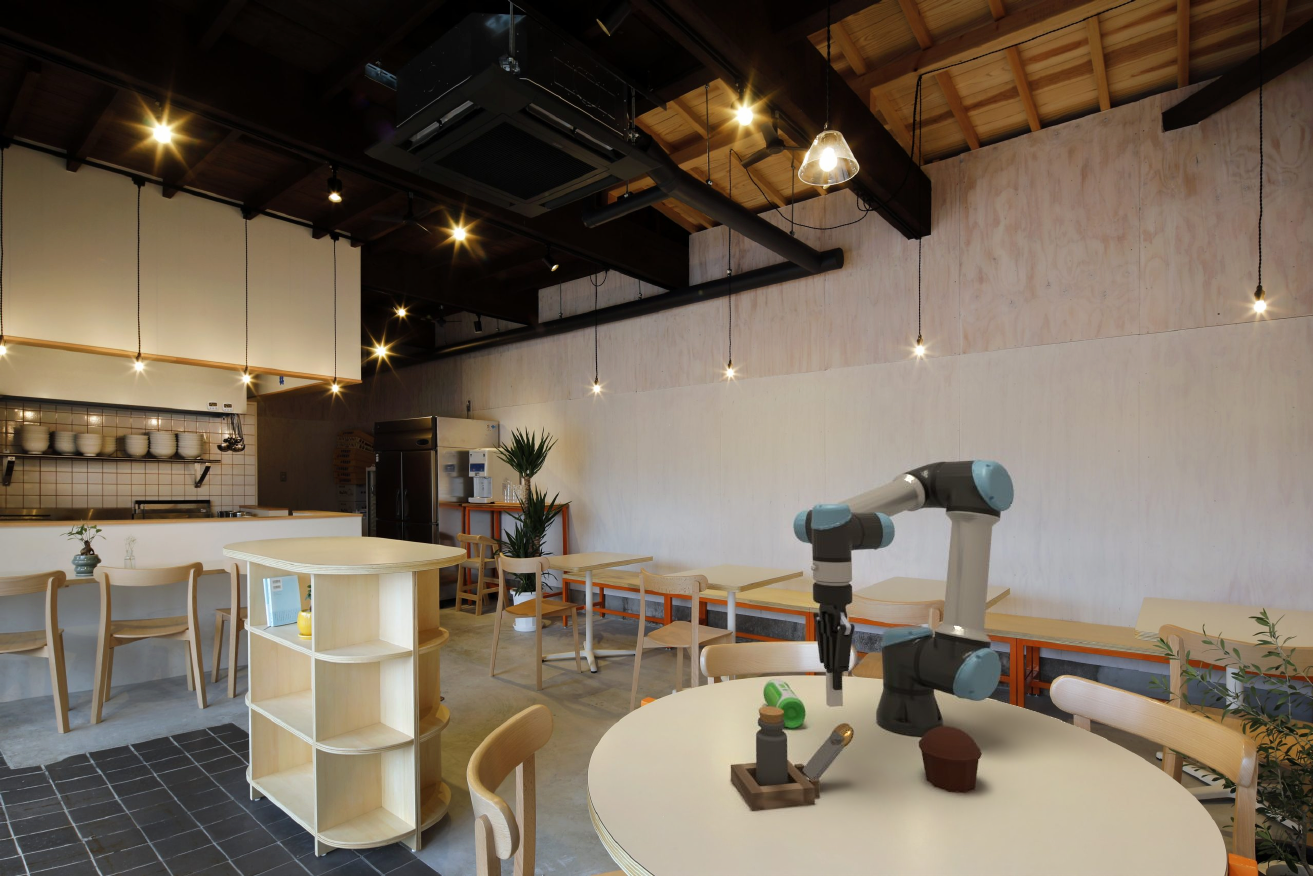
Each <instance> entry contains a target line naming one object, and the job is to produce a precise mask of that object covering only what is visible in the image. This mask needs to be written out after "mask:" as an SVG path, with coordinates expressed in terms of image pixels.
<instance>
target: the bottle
mask: <svg viewBox="0 0 1313 876" xmlns="http://www.w3.org/2000/svg"><path fill="white" fill-rule="evenodd" d="M758 713H759V714H758V715H759V717H758V719H757V725H758V726H759V727H760V729H759V730H757V731H756V733H755V755H756V756H755V759H756V760H755V761H756V762H755V763H756V783H757V784H758V786H759V787H760V786H771V785H781V784H788V760H789V759H788V736H787V734H786V732H785V731H783V729H784V728H786V726H785V720H784V719H783V714H784V711H783V710H782V709H780V708H777V707H770V706H769V705H768V706H763V707H762V706H761V707H760V708H759V709H758Z"/></svg>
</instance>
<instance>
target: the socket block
mask: <svg viewBox="0 0 1313 876" xmlns="http://www.w3.org/2000/svg"><path fill="white" fill-rule="evenodd" d="M804 767H805V764H803V763H795V764H793V763H792V762H791V761H790V760H789V759H788V784H781V785H771V786H760V787H759V786H758V784H757V783H756V762H750V763H749V762H747V763H736V764H734V763H733V764H730V782H731V783H732V784H733V786H734V787H735V789H736V791H737V792H738V793H739V794H740V796H741V797H742V799H743V800H744V802H745V803H746V804H747V806H748V807H749V809H750V810H751V811H752V812H754V811H763V810H775V809H781V808H782V809H783V808H785V809H786V808H792V807H803V806H811V805H816V799H819V798H820V779H819V780H818V779H817V778H811V779H809V781H808V780H807V779H806V778H805V777H804V776H803V775H802V774H801V773H800V772H801V771H802V769H803V768H804Z"/></svg>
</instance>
